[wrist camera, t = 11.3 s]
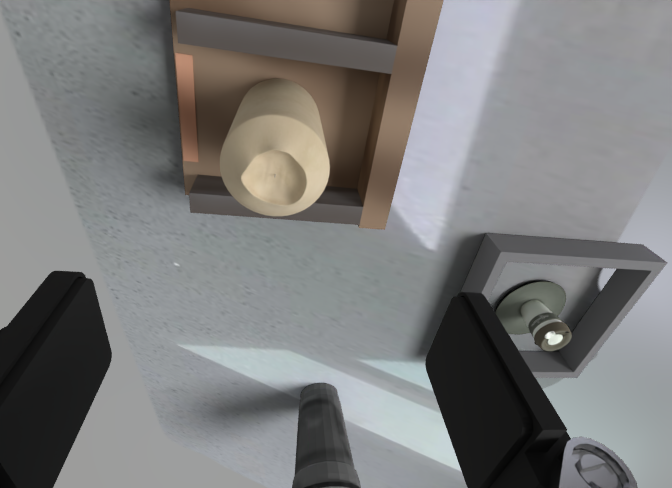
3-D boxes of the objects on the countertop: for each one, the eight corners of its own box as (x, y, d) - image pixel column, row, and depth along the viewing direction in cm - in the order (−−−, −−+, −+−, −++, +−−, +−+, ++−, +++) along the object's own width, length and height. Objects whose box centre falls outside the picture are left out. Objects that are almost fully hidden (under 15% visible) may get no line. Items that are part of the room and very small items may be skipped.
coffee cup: (521, 355, 46) (544, 392, 42) (453, 321, 41) (471, 358, 37) (608, 290, 41) (644, 324, 37) (541, 242, 36) (573, 275, 32)
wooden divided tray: (152, -279, 17) (120, -343, 14) (466, -194, 19) (502, -229, 16) (188, 188, 29) (175, 214, 26) (374, 204, 32) (384, 229, 29)
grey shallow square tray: (486, 233, 35) (501, 251, 32) (642, 244, 38) (667, 262, 35) (433, 355, 44) (441, 377, 42) (562, 357, 47) (577, 377, 45)
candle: (234, 148, 27) (209, 220, 19) (245, 66, 24) (221, 110, 16) (309, 165, 28) (316, 239, 20) (328, 89, 25) (346, 140, 17)
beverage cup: (335, 414, 49) (359, 631, 33) (281, 407, 47) (277, 635, 31) (357, 380, 46) (397, 604, 29) (300, 371, 43) (307, 606, 27)
